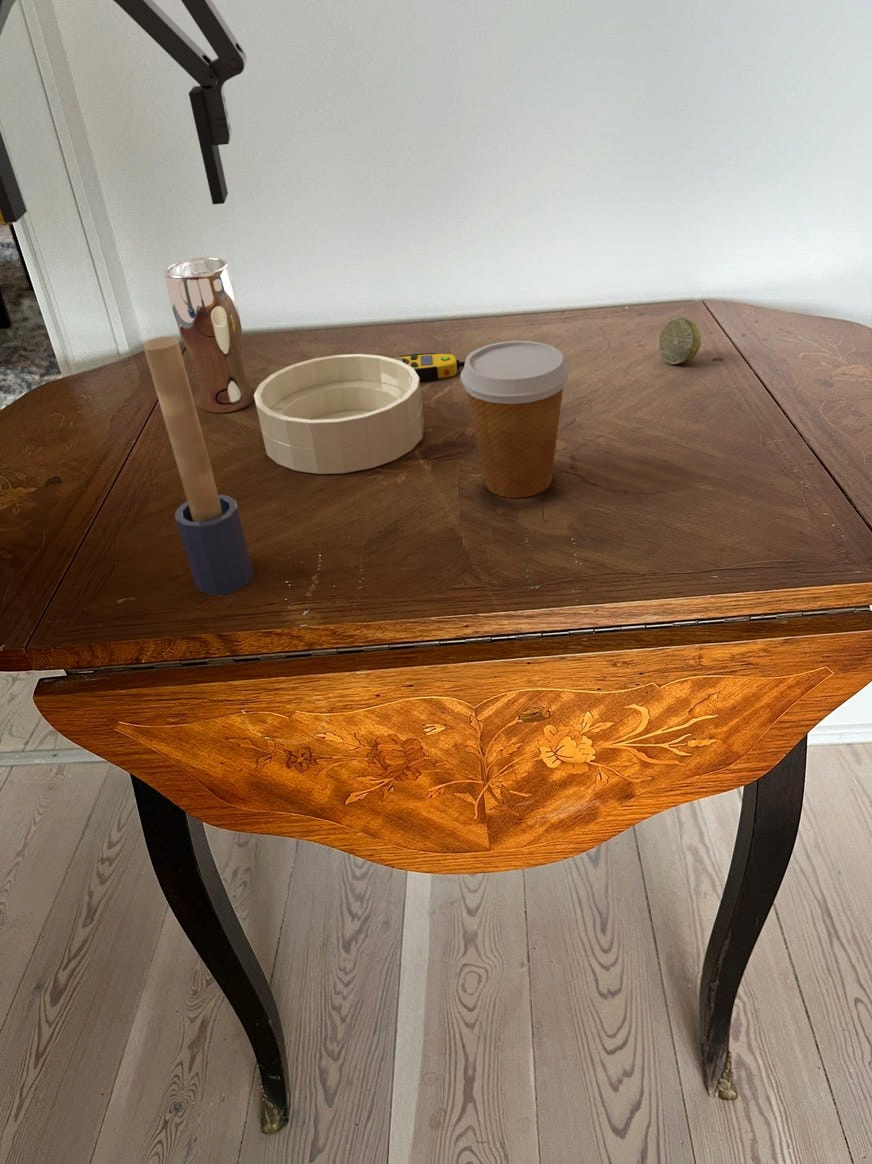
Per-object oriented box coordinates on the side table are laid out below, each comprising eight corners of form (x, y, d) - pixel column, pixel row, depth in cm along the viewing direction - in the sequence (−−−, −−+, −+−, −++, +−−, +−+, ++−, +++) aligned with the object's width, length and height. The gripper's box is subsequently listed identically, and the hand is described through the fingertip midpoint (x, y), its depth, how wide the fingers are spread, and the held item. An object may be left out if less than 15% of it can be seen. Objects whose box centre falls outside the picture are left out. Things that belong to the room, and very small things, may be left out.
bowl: (275, 492, 91) (263, 434, 87) (258, 422, 104) (247, 369, 100) (441, 461, 94) (436, 404, 90) (405, 396, 107) (399, 344, 103)
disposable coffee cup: (543, 449, 95) (541, 331, 87) (585, 492, 88) (587, 367, 80) (453, 470, 92) (444, 351, 85) (490, 516, 85) (482, 390, 78)
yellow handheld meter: (378, 354, 112) (505, 343, 112) (380, 369, 113) (506, 358, 113) (378, 370, 108) (509, 358, 108) (380, 386, 109) (509, 375, 110)
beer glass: (240, 383, 112) (210, 252, 103) (269, 401, 108) (241, 265, 98) (186, 402, 109) (150, 268, 99) (214, 420, 104) (179, 282, 95)
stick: (210, 587, 78) (143, 351, 66) (208, 572, 80) (142, 339, 67) (240, 581, 78) (178, 346, 66) (237, 566, 80) (177, 334, 68)
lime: (696, 370, 108) (700, 326, 105) (654, 367, 109) (656, 324, 106) (702, 355, 111) (705, 312, 108) (660, 352, 112) (663, 310, 109)
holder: (198, 603, 77) (176, 530, 73) (195, 572, 81) (174, 500, 76) (257, 591, 78) (239, 518, 74) (251, 561, 82) (234, 489, 77)
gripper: (242, -224, 54) (306, 178, 68) (-207, -194, 53) (-53, 210, 66) (230, -238, 48) (302, 205, 62) (-275, -205, 47) (-91, 240, 60)
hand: (119, 208), depth 64 cm, fingers open, 13 cm apart
